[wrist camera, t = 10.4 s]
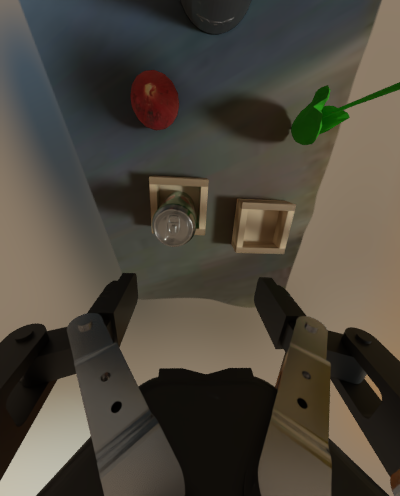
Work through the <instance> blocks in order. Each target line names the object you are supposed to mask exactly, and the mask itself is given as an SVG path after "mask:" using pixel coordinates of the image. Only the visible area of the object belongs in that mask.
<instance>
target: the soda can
mask: <svg viewBox="0 0 400 496" xmlns="http://www.w3.org/2000/svg"><path fill="white" fill-rule="evenodd" d="M152 228H153V232H154V234H155V235H156V237H157V238H158V239H159V241H161V242H162V243H163V244H165V245H167V246H172V247H176V246H181V245H183V244H185V243H187V242H188V241H190V240H191V239H192V237H193V236H194V234H195V231H196V215H195V205H194V201H193V199H192V198H191V197H190V196H189V195H188V194H187V193H185V192H181V191H177V192H173V193H171V194H170V195H168V197H167V198H166V199H165V200H164V202H163V203H162V204H161V206H160V207H159V208H158V210H157V211H156V213H155V214H154V216H153V219H152Z"/></svg>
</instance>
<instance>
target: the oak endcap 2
mask: <svg viewBox="0 0 400 496" xmlns="http://www.w3.org/2000/svg"><path fill="white" fill-rule="evenodd" d="M295 208H296V204H293V203H290V202H287V201H280V200H257V199H237V203H236V211H235V219H234V227H233V235H232V243H231V245H232V247H233V248H234V250H235V252H236V253H267V254H284V251H285V247H286V243H287V239H288V235H289V231H290V227H291V223H292V219H293V215H294V211H295Z"/></svg>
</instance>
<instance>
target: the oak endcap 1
mask: <svg viewBox="0 0 400 496" xmlns="http://www.w3.org/2000/svg"><path fill="white" fill-rule="evenodd" d="M149 186H150V204H151V223H152V219H153V216H154V214H155V213H156V211H157V210H158V208H159V207H160V206H161V204H162V203H163V202H164V200H165V199H166V198H167V197H168V195H170V194H171V193H173V192H177V191H181V192H185V193H187V194H188V195H189V196H190V197H191V198H192V199H193V201H194V205H195V215H196V231H195V234H194V235H205V226H206V210H207V195H208V179H207V178H189V177H170V176H150V177H149ZM152 233H153V234H154V232H153V228H152Z"/></svg>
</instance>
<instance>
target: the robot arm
mask: <svg viewBox="0 0 400 496" xmlns="http://www.w3.org/2000/svg"><path fill="white" fill-rule="evenodd" d="M251 1H252V0H181V4H182V6H183V8H184V10H185V12H186V14H187V16H188V17H189V19H190V20H191V21H192V23H193V24H195V25H196V26H197V27H198V28H199V29H201V30H203V31H204V32H207V33H211V34H222V33H225V32H228V31H229V30H231V29H232V28H234V27H235V26H236V25H237V24H238V23H239V22H240V21H241V20H242V19H243V17H244V15H245V14H246V12H247V10H248V8H249V5H250V3H251ZM137 300H138V289H137V276H136V274H135V273H123V274H122V276H121V277H120V279H119V280H118V281H112V282H111V283H110V284H108V285H107V286H106V287H105V289H104V290H103V292H102V293H101V294H100V296H99V297H98V298H97V300H96V301H95V303H94V304H93V306H92V307H91V308H90V310H89V311H88V313H87V314H83V315H81V316H78V317H77V318H75V319H74V320H72V321H71V322H70V323H69V325H68V327H64V328H60V329H55V330H51V331H47V330H46V328H45V326H44V325H42V324H30V325H26V326H23V327H21V328H19V329H17V330H15V331H13V332H12V333H10V334H9V335H8V336H7V337H6V338H5V339H4V340H3V341H2V342H1V343H0V480H1V479H2V477H3V475H4V473H5V472H6V470H7V468H8V466H9V464H10V463H11V461H12V459H13V457H14V455H15V454H16V452H17V450H18V448H19V447H20V445H21V443H22V441H23V440H24V438H25V436H26V434H27V433H28V431H29V429H30V427H31V425H32V424H33V422H34V420H35V418H36V416H37V415H38V413H39V411H40V409H41V408H42V406H43V404H44V402H45V400H46V399H47V397H48V395H49V393H50V392H51V390H52V388H53V386H54V384H55V383H56V381H57V379H60V378H63V377H66V376H70V375H73V374H77V378H78V382H79V387H80V391H81V395H82V400H83V404H84V408H85V412H86V417H87V421H88V425H89V429H90V434H91V437H90V438H89V439H88V440H87V441H86V442H85V443H84V445H82V447H81V448H80V449H79V450H78V451H77V452H76V453H75V454H74V455H73V456H72V457H71V459H70V460H69V461H68V462H67V463H66V464H65V465H64V466H63V467H62V468H61V469H60V470H59V472H58V473H57V474H56V475H55V476H54V477H53V478H52V479H51V480H50V481H49V482H48V483H47V485H46V486H45V487H44V488H43V489H42V490H41V491H40V492H39V493H38V494H37V495H36V496H389V495H388V494H387V493H386V492H385V491H384V490H383V489H382V488H381V487H379V486H378V485H377V484H376V483H375V482H374V481H373V480H372V479H371V478H370V477H369V476H368V475H367V474H366V473H365V472H364V471H363V470H362V469H361V468H360V467H359V466H358V465H356V464H355V463H354V462H353V461H352V460H351V459H350V458H349V457H348V456H347V455H346V454H345V453H344V452H343V451H342V450H341V449H340V448H339V447H338V446H337V445H336V444H335V443H333V442H332V441H331V440H330V439H329V438H328V437H329V404H330V379H331V381H332V382H333V384H334V385H335V387H336V389H337V390H338V392H339V394H340V395H341V397H342V399H343V400H344V402H345V404H346V405H347V407H348V409H349V410H350V412H351V413H352V415H353V417H354V418H355V420H356V421H357V423H358V425H359V427H360V428H361V430H362V432H363V433H364V435H365V436H366V438H367V440H368V441H369V443H370V445H371V446H372V448H373V449H374V451H375V453H376V454H377V456H378V458H379V459H380V461H381V463H382V464H383V466H384V467H385V469H386V471H387V472H388V474H389V476H390V484H391V488H392V492H393V494H394V496H400V361H399V360H398V359H397V358H395V356H393V355H392V354H391V353H390V352H389V351H388V350H387V349H386V348H385V347H384V346H383V345H382V344H381V343H380V342H379V341H378V340H377V339H376V338H375V337H374V336H372V335H371V334H369V333H367V332H365V331H363V330H361V329H357V328H347V329H346V330H345V332H344V334H340V333H336V332H332V331H328V330H327V329H326V327H325V326H324V325H323V324H322V323H321V322H319V321H318V320H316V319H314V318H311V317H307V316H306V315H305V314H304V312H303V311H302V310H301V308H300V307H299V306H298V305H297V303H296V302H295V301H294V299H293V298H292V297H291V296H290V294H289V293H288V292H287V291H286V290H285V289H284V288H283V287H281V286H280V285H277V284H276V283H275V282H274V280H273V279H272V278H267V277H260V278H259V279H258V282H257V287H256V292H255V296H254V303H255V306H256V308H257V311H258V313H259V314H260V317H261V319H262V321H263V323H264V325H265V327H266V330H267V332H268V334H269V336H270V338H271V340H272V342H273V344H274V347H275V349H284V350H285V355H284V358H283V362H282V365H281V368H280V372H279V375H278V378H277V382H276V385H275V387H274V386H273V385H271V384H269V383H268V382H266V381H264V380H262V379H260V378H257V377H254V376H253V373H252V370H251V368H228V369H225V370H221V371H218V372H214V373H211V374H202V373H198V372H194V371H191V370H186V369H183V368H182V369H181V368H180V369H179V368H176V369H175V368H174V369H173V368H172V369H171V368H170V369H159V376H158V377H156V378H153V379H151V380H148V381H147V382H145V383H143V384H142V385H140V386H139V387H138V385H137V383H136V381H135V379H134V377H133V375H132V373H131V371H130V369H129V367H128V365H127V363H126V361H125V359H124V357H123V354H122V352H121V350H120V348H119V347H120V344H121V342H122V339H123V337H124V334H125V332H126V329H127V326H128V324H129V321H130V319H131V316H132V314H133V311H134V309H135V306H136V304H137ZM366 375H368V376H369V377H370V378H371V380H372V381H373V382H374V383H375V385H376V386H377V387H378V388H379V390H380V392H381V395H382V401H381V400H380V399H379V397H378V396H377V395H376V393H375V392H374V391H373V389H372V388H371V387H370V386H369V384H368V383H367V382H366V380H365V379H364V378H365V376H366Z"/></svg>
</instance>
